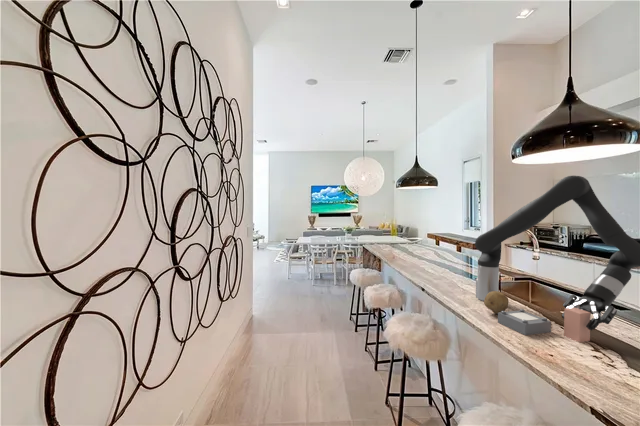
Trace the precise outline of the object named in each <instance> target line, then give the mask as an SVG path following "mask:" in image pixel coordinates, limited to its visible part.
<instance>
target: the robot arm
mask: <svg viewBox="0 0 640 426" xmlns="http://www.w3.org/2000/svg"><path fill="white" fill-rule="evenodd" d="M570 201H573V202H574V203H575V204H577V206H578V207H579V208H580V209H581V210H582V212H583V213H584V215H585V217H586V218H587V220H588V222H589V224H590V226H591V227H592V229H593V231H594V232H595V233H596V234H597V235H598V237H599V238H600V240H602V242H603V243H604V244H605V245H607V246H610V247H611V246H612V247H615V248H616V249H618V250H617V251H615V252H614V253H612V255H611V256H610V258H609V260H608V262H607V264H606V268H604V269H603V271H602V272H601V273H600V274H599V275H598V276H597V277H596V278H595V279H594V280H593V281H592V282H591V283H590V284H589V286H588V287H587V288H586V289H585V290H584V292H583V295H582V296H580V297H578V296H576V295H575V294H572V295H570V296H569V298H567V299H566V300H565V301H564V303H563V304H562V306H563V307H564V309H567V308H578V309H581V310H584V311H587V312H590V313H591V315H593V318H590V322H589V323H588V324H587V325H586V327H587V328H588V329H589V330H590V331H593V330H595V329H597V328H598V326H599V325H600V324H602V323H603V324H606V325H609V324H610V323H611V322H612V320H613V319H614V317H615V316H616V315H617V314H618V311H617V310H616V308H615V307H614V306H613V305H612V304H613V302H614V301H615V300H616V299H617V297H619V295H620V294H621V293H622V291H623V289H624V288H625V286H626V285H627V284H628V283H629V281H630V280H631V278H632V273H631V270H632V269H634V268H640V243H639V242H638V241H637V240H635V239H634V238H633V237H631V236H630V235H629V234H627V233H626V231H625V230H624V228H622V227H621V225H620V224H619V223H618V222H617V220H616V219H615V218H614V217H613V216H612V214H610V212H609V211H608V210H607V209H606V208H605V207H604V205H603V204H602V202H601V201H600V200H599V198H598V196H597V194H596V193H595V191H594V190H593V187H592V186H591V184H590V182H589V180H588V179H587V178H585V177H584V176H580V175H568V176H565V177H563V178H561V179H560V180H559V181H557V182H556V184H554V185H553V186H552V187H550V189H548V190H547V191H546V192H545V193H543V194H541V196H539V197H537V198H535V199H534V200H532V201H530V202H529V203H527V204H526V205H523V206H522V207H520V208H519V209H518V210H516V211H515V212H513V213H512V214H511V215H509V216H508V217H506V218H505V219H504V220H503V221H501V222H500V223H499V224H498V225H496V226H495V227H493V228H491V229H490V230H488V231H486V232H484V233H482V234H480V235H478V237H476V240H475V242H474V246H475V248H476V250H477V251H478V252H480V256H479V258H478V259H477V278H476V279H475V298H477V299H478V300H480V301H482V302H484V299H485V297H486V295H487V294H488V293H490V292H492V291H498V292H499V285H500V284H499V283H500V282H499V280H500V279H499V278H500V277H499V276H500V274H499V271H500V267H499V266H500V262H501V259H502V258H501V257H502V243H503V242H504V241H506V240H508V239H510V238H512V237H515V236H518V235H520V234H522V233H524V232H526V231H528V230H529V229H531V228H533V227H534V226H536V225H538V224H539V223H540V222H542V221H543V220H544V219H546V217H548V216H549V215H550V214H551V213H552V212H553V211H555V209H558V208H559V207H560V206H563V205H564V204H566V203H568V202H570ZM602 312H603V313H602ZM561 318H562V319H563V320H564V312H562V314H561Z"/></svg>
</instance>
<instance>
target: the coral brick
mask: <svg viewBox="0 0 640 426" xmlns="http://www.w3.org/2000/svg"><path fill="white" fill-rule="evenodd" d="M578 308H579V307H578ZM578 308H567V309H566V308H564V309H563V310H564V312H563V313H564V319H563V321H564V322H563V336H564V337H565V336H566V338H568V339H570V338H571V339H570V340H573V341H575V340H576V342H577V341H578V342H577V343H583V342H584V343H585V342H590V341H591V330H589V329H588V328H587V327H586V325H587V324H588V323H589V322H590V320H591V315H592V314H591V313H590V312H587V311H584V310H581V309H578Z"/></svg>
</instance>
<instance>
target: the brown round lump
mask: <svg viewBox="0 0 640 426" xmlns="http://www.w3.org/2000/svg"><path fill="white" fill-rule="evenodd" d="M509 303H510V301H509V298H508V296H506V294H505V293H504V292H502V291H499V290H498V291H492V292H490V293H488V294H487V295H486V297H485V299H484V301H483V305H484V306H485V307H486V308H487V309H488V310H490V311H491V312H493V313H494V314H496V315H498V313H499V312H501V311H506V310H507V308H508V306H509Z"/></svg>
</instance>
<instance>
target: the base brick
mask: <svg viewBox="0 0 640 426" xmlns="http://www.w3.org/2000/svg"><path fill="white" fill-rule="evenodd" d="M497 323H498V324H500V325H503V326H504V327H507V328H508V329H511V330H513V331H515V332H518V333H519V334H521V335H524V336H529V335H538V334H544V333H545V334H546V333H547V334H548V333H551V332H552V321H551V320H548V318H547V317H540V316H538V315H535V314H532V313H530V312H527V311H525V309H524V308H520V309H519V310H511V311H506V310H505V311H501V312H499V313H498V314H497Z"/></svg>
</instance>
